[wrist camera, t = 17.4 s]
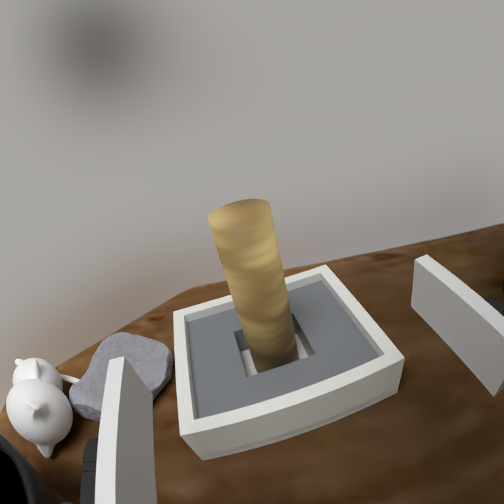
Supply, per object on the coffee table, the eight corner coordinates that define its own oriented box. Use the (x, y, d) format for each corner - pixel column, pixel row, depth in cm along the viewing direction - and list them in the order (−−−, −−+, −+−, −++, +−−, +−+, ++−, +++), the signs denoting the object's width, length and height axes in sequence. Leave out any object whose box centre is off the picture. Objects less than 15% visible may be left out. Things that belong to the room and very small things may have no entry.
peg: (291, 341, 31) (261, 194, 24) (305, 371, 27) (277, 212, 20) (251, 355, 31) (205, 210, 23) (261, 386, 27) (211, 231, 20)
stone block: (187, 365, 35) (120, 346, 37) (179, 339, 33) (108, 321, 35) (148, 448, 26) (76, 416, 28) (133, 430, 23) (57, 395, 25)
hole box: (329, 298, 38) (325, 264, 35) (397, 392, 24) (404, 357, 21) (188, 343, 36) (173, 311, 34) (202, 460, 22) (180, 435, 19)
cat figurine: (5, 338, 27) (-3, 402, 17) (83, 343, 33) (102, 405, 24) (13, 395, 28) (16, 461, 19) (84, 397, 34) (105, 460, 25)
